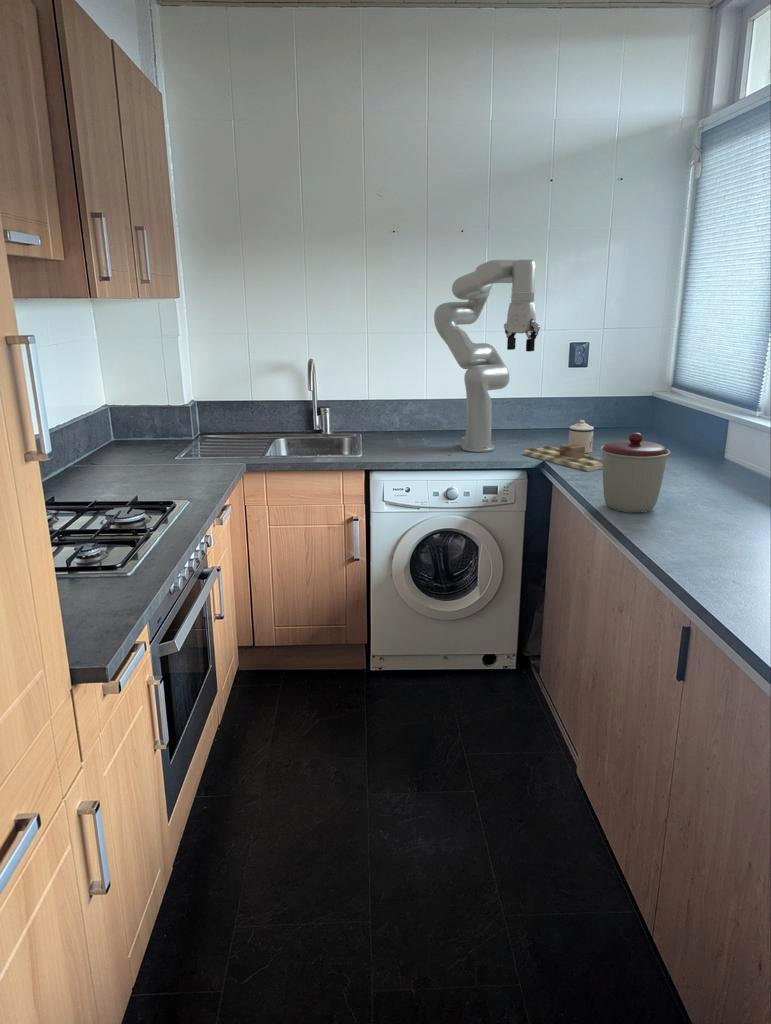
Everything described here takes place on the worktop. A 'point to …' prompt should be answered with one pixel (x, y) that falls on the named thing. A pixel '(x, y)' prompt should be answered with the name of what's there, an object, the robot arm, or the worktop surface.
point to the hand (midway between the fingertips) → (520, 350)
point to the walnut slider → (572, 450)
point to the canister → (632, 473)
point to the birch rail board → (565, 458)
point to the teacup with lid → (581, 435)
